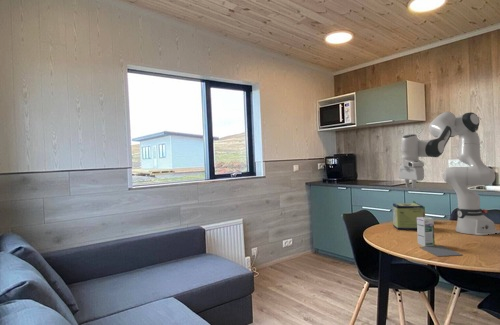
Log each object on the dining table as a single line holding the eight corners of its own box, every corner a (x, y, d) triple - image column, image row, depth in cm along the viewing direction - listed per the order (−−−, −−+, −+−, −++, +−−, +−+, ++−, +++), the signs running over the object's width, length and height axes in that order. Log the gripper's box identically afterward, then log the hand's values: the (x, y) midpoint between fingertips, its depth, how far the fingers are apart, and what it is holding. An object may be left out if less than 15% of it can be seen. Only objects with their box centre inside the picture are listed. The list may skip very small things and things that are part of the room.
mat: (441, 246, 164) (441, 245, 164) (462, 255, 149) (462, 254, 149) (419, 247, 163) (419, 246, 163) (438, 256, 148) (437, 256, 148)
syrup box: (425, 246, 164) (424, 218, 164) (417, 243, 170) (416, 216, 170) (434, 245, 165) (434, 218, 165) (426, 242, 171) (426, 216, 171)
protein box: (423, 230, 198) (423, 205, 198) (397, 230, 201) (396, 205, 201) (418, 226, 209) (417, 203, 208) (392, 226, 211) (392, 203, 211)
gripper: (395, 163, 190) (395, 186, 190) (414, 163, 170) (415, 189, 170) (405, 162, 190) (406, 185, 191) (426, 163, 170) (426, 189, 170)
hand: (410, 187), depth 180 cm, fingers open, 4 cm apart
